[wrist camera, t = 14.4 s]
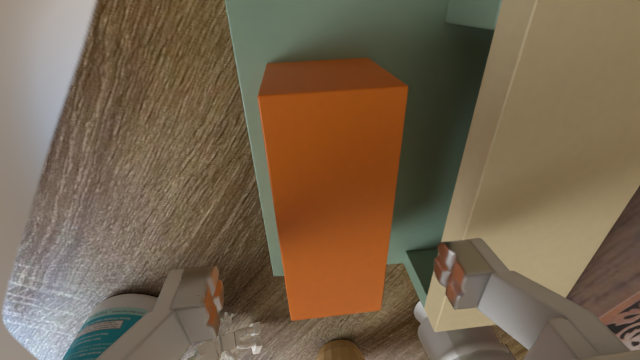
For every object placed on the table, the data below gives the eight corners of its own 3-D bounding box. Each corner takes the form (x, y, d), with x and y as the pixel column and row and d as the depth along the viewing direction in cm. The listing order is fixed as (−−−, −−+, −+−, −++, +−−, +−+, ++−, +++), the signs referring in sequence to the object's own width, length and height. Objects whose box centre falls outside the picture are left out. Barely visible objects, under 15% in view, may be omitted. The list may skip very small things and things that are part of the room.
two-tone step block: (275, 236, 23) (270, 353, 15) (237, -2, 15) (187, -2, 7) (468, 217, 24) (553, 318, 17) (539, -14, 16) (779, -25, 8)
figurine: (228, 327, 36) (161, 343, 32) (259, 303, 28) (174, 320, 24) (233, 368, 34) (162, 391, 30) (268, 356, 26) (177, 384, 22)
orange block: (266, 62, 13) (256, 95, 8) (368, 57, 13) (409, 85, 9) (289, 247, 18) (290, 321, 14) (359, 240, 19) (381, 311, 14)
